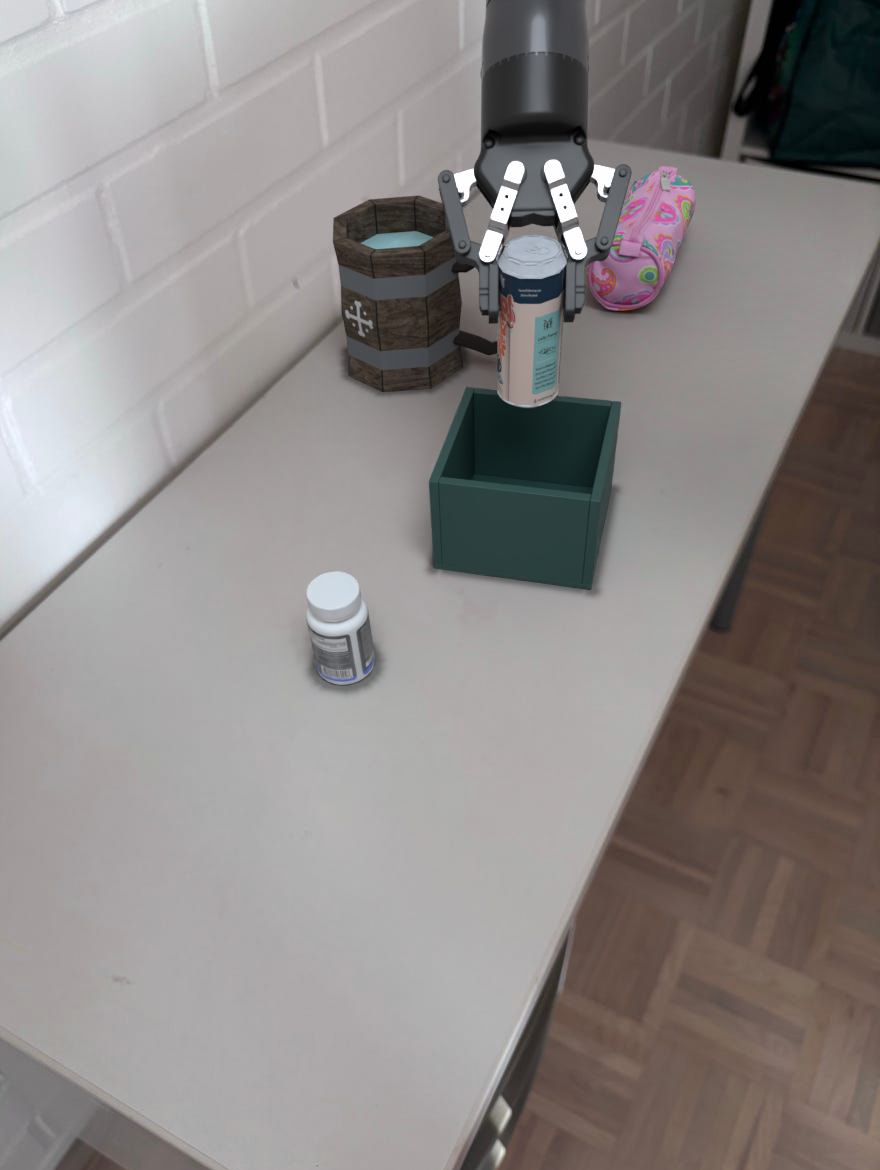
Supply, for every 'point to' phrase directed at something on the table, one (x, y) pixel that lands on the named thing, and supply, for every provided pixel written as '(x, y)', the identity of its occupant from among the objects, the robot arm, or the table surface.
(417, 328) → the mug
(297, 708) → the table surface
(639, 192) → the pencil case
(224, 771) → the table surface
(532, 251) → the beer can
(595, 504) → the bin
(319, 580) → the pill bottle
